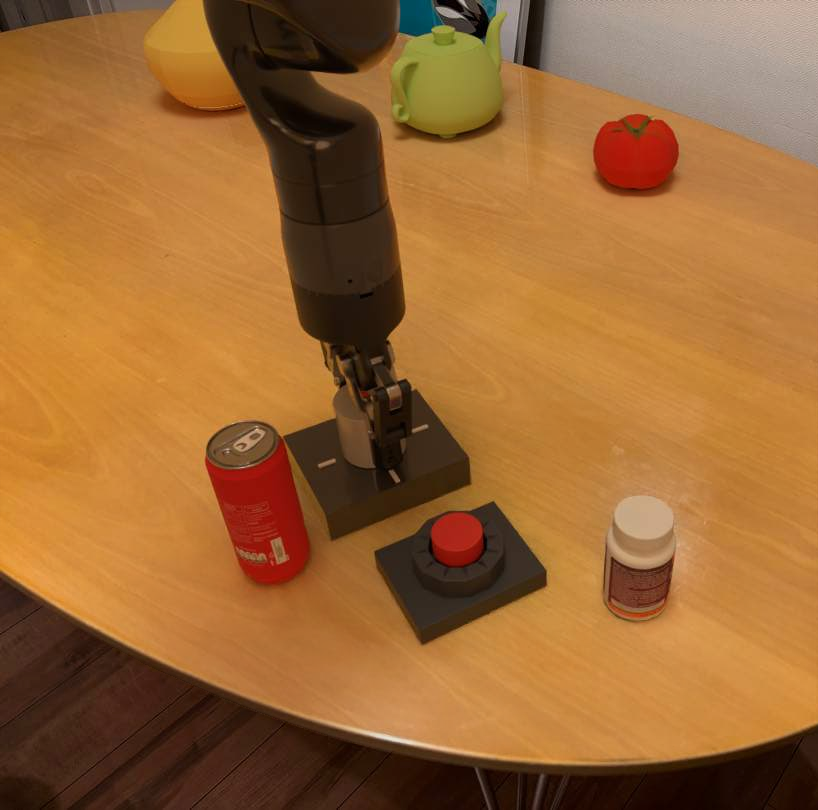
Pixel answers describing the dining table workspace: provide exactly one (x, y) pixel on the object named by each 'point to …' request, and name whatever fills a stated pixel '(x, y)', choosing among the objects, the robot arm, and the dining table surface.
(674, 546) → the pill bottle
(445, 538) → the button
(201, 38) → the vase
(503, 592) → the control block
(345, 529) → the panel
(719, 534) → the dining table surface
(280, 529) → the beverage can
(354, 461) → the hob knob
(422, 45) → the teapot
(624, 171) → the tomato
